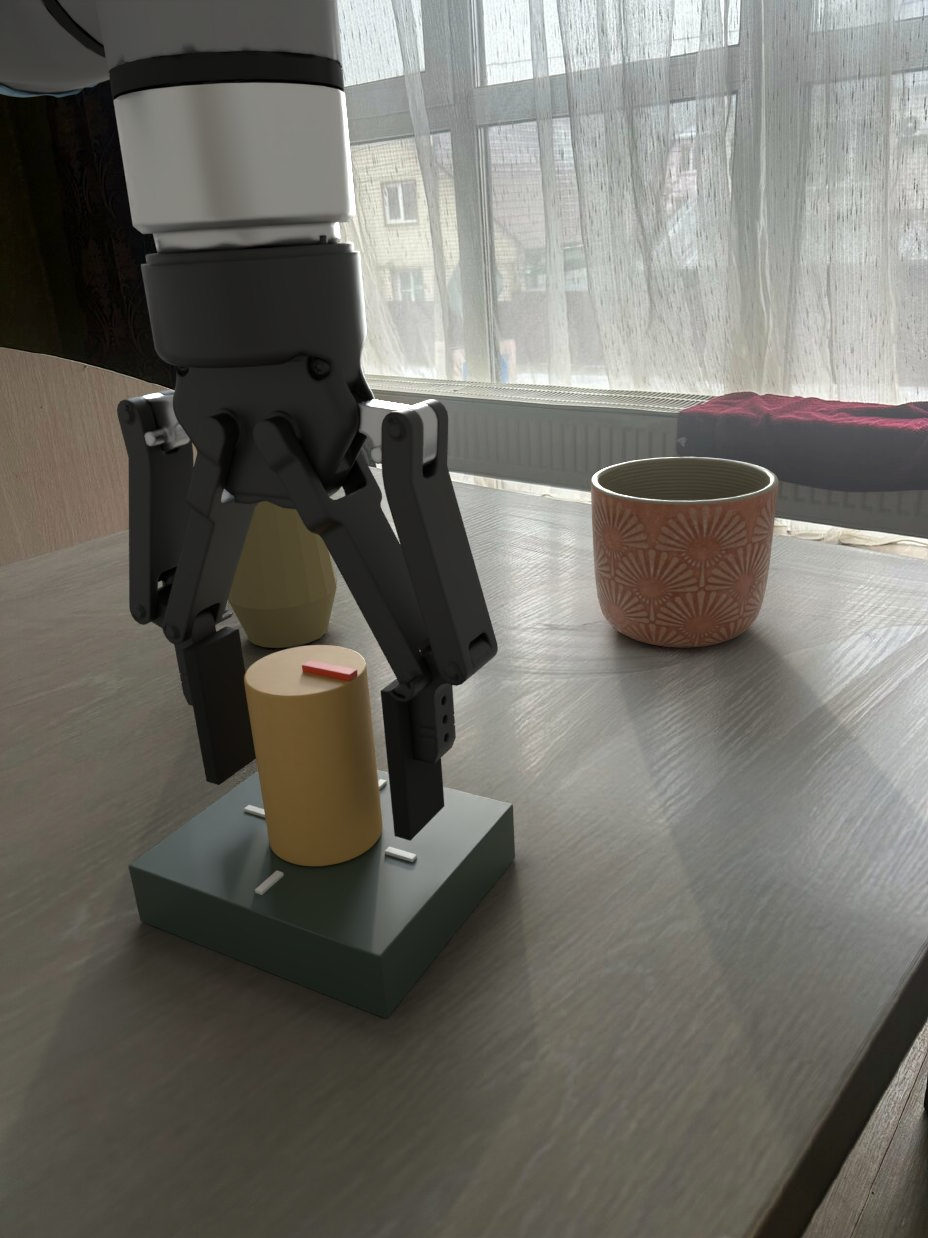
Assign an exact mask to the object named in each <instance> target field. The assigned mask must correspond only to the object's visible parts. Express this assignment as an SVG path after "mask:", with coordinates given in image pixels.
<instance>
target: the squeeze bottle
mask: <svg viewBox="0 0 928 1238" xmlns="http://www.w3.org/2000/svg"><path fill="white" fill-rule="evenodd" d="M337 586H338V578H337V574H336V569H335V564H334V560H333V558H332V556H331V554H330V552H329V550H328V549H327V547H326V545H325V543H324V541H323V539H322V538H321V537H320V536H319V535H317V534H314V533H312V532H310V531H309V530H308V529H307V528H306V526H305V525H304V523H303V521H302V520H301V518H300V516H299V514H298V512H297V510H296V509H288V508H282V507H280V506H277V505H275V504H272V503H270V502H268V501H263V502H259V503H258V504H257V506H256V507H255V510H254V513H253V516H252V520H251V523H250V526H249V530H248V533H247V537H246V540H245V543H244V547H243V550H242V553H241V557H240V560H239V564H238V567H237V570H236V574H235V577H234V580H233V584H232V587H231V590H230V594H229V597H228V601H227V602H228V604H229V605H230V607H231V609H232V611H233V613H234V614H235V616H236V618H237V620H238V621H239V623H240V625H241V628H242V629H243V631H244V633H245V635H246V637H247V639H248V640H249V641H250V642H251V643H252V645H256V646H259V647H262V648H270V649H281V648H295V647H299V646H303V645H305V644H309V643H311V642H314V641H316V640H319V639H320V638H322V637H323V636H324V635H325V634H326V633H328V629H329V624H330V621H331V616H332V610H333V606H334V602H335V597H336V592H337V588H338V587H337Z"/></svg>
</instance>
